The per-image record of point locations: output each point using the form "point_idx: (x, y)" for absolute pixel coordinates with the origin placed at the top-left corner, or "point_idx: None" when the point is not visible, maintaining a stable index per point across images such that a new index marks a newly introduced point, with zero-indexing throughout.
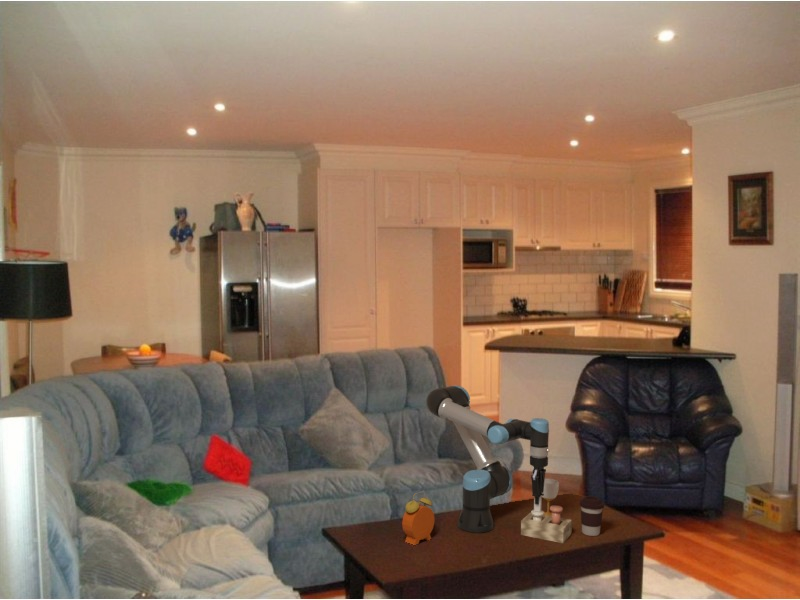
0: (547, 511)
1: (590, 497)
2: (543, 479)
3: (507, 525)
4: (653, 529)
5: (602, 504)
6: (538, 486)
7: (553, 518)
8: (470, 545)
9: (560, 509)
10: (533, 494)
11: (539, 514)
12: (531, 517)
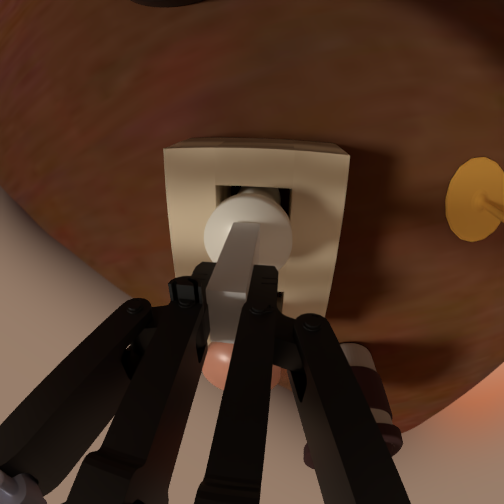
0: (488, 205)
1: None
2: (323, 488)
3: (283, 39)
4: (405, 430)
5: None
6: (101, 425)
7: None
8: (21, 50)
9: (222, 388)
10: (120, 316)
11: (215, 259)
12: (253, 185)
